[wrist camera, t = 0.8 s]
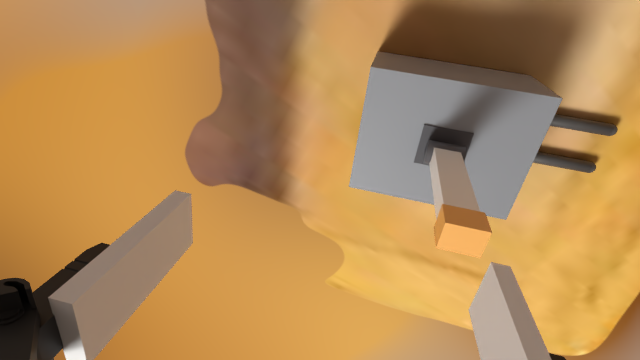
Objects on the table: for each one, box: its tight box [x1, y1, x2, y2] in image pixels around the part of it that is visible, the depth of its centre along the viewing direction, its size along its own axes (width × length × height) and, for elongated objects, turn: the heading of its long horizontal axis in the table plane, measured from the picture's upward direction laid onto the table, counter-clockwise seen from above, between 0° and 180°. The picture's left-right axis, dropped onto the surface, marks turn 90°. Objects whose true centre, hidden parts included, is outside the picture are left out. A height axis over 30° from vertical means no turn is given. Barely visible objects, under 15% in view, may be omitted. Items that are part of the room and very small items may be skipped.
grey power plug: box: [349, 51, 617, 220], centre depth 41 cm, size 29×14×10 cm, turn 84°
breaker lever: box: [423, 140, 492, 258], centre depth 30 cm, size 4×2×15 cm, turn 83°
